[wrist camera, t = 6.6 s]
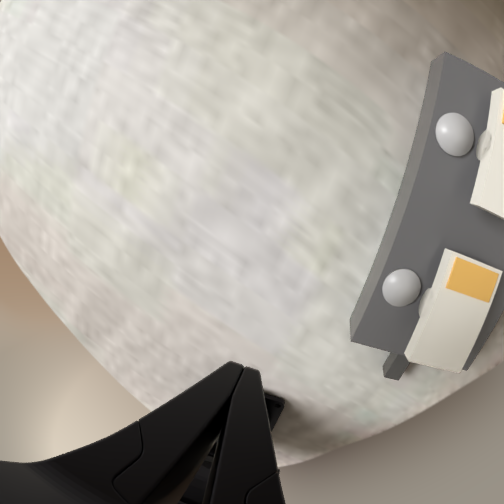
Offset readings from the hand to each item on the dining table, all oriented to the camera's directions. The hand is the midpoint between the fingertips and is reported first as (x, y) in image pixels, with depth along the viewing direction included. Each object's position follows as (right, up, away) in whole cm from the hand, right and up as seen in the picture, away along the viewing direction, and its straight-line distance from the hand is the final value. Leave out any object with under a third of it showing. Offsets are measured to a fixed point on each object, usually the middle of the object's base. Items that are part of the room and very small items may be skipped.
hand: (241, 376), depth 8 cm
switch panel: (+12, +4, +8) cm, 16 cm away
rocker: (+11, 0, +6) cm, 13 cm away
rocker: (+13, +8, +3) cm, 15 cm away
